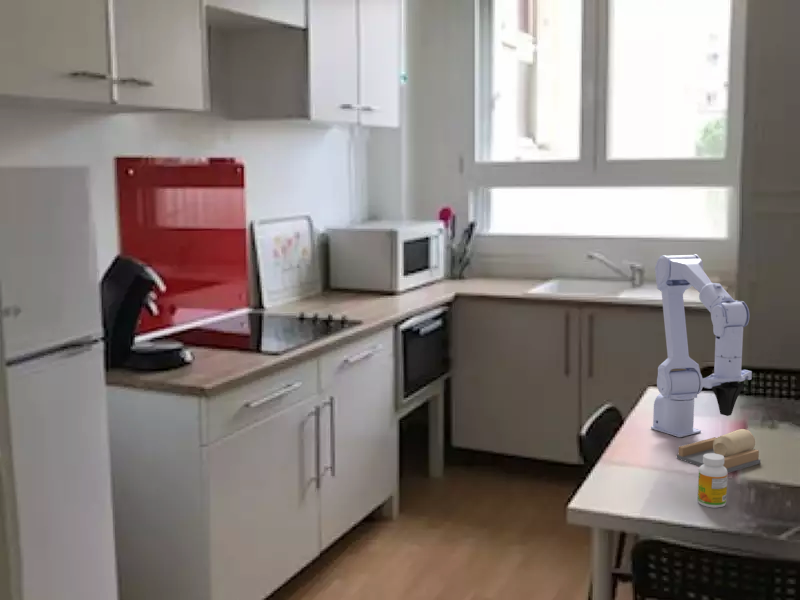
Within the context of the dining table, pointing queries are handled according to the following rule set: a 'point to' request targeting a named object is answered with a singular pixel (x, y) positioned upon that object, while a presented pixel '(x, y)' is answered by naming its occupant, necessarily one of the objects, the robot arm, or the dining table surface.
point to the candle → (734, 443)
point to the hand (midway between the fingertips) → (725, 414)
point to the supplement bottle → (712, 481)
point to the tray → (700, 448)
